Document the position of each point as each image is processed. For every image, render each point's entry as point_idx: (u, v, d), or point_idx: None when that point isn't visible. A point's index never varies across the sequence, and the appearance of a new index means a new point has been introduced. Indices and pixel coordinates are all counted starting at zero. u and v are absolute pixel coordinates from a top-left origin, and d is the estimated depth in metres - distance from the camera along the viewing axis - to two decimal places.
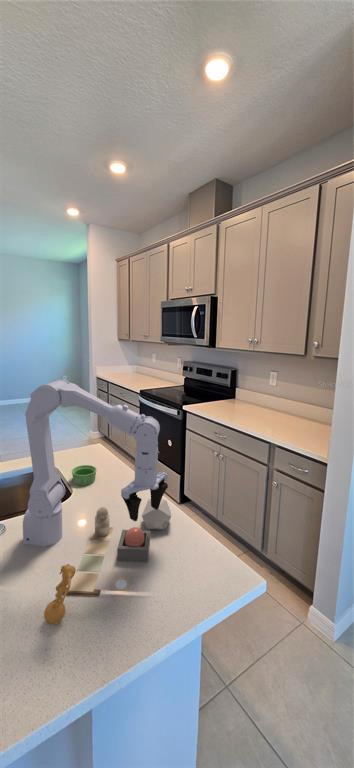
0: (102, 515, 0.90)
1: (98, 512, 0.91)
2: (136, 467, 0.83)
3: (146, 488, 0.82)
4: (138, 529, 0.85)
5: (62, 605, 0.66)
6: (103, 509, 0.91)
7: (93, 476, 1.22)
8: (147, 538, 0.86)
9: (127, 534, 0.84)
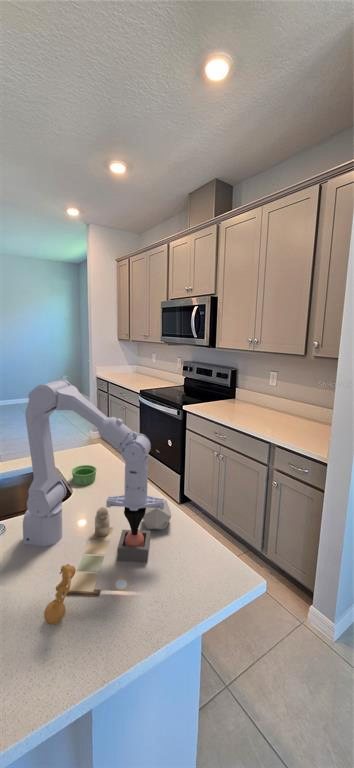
0: (102, 515, 0.90)
1: (98, 512, 0.91)
2: None
3: (126, 505, 0.81)
4: (138, 532, 0.85)
5: (62, 605, 0.66)
6: (103, 509, 0.91)
7: (93, 476, 1.22)
8: (147, 538, 0.86)
9: (127, 537, 0.84)
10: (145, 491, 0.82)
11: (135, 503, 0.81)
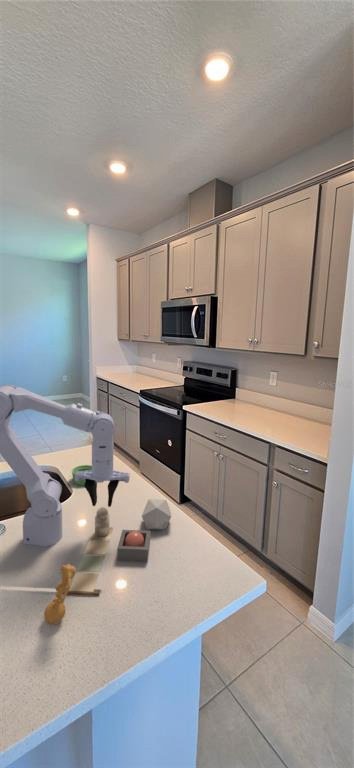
0: (102, 515, 0.90)
1: (98, 512, 0.91)
2: None
3: (92, 478, 0.87)
4: (138, 533, 0.85)
5: (62, 605, 0.66)
6: (103, 509, 0.91)
7: None
8: (147, 538, 0.86)
9: (127, 538, 0.84)
10: (110, 465, 0.88)
11: (101, 476, 0.87)
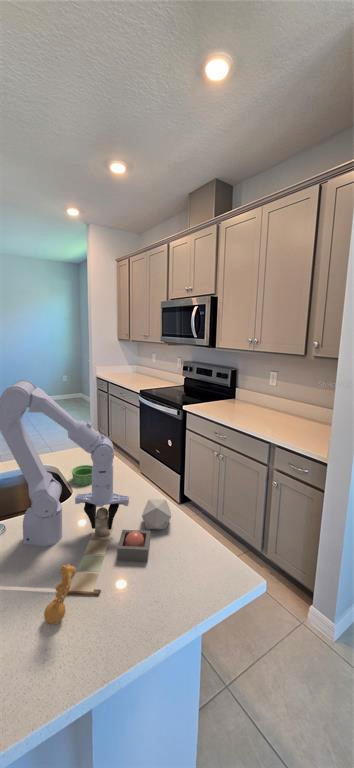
0: (102, 515, 0.90)
1: (98, 512, 0.91)
2: None
3: (92, 502, 0.88)
4: (138, 533, 0.85)
5: (62, 605, 0.66)
6: (103, 509, 0.91)
7: None
8: (147, 538, 0.86)
9: (127, 538, 0.84)
10: (110, 489, 0.89)
11: (101, 500, 0.88)
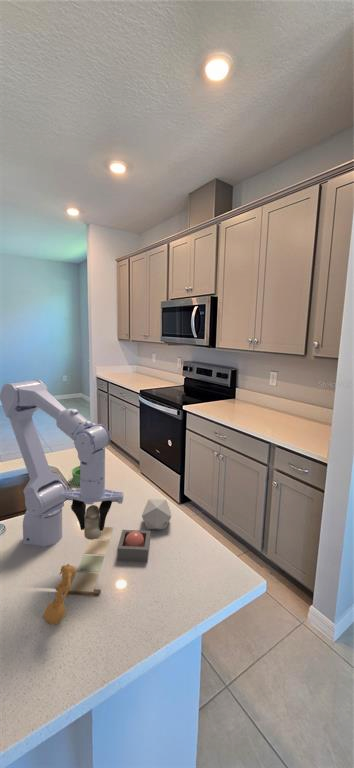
0: (92, 514, 0.79)
1: (88, 511, 0.79)
2: None
3: (81, 499, 0.77)
4: (138, 533, 0.85)
5: (62, 605, 0.66)
6: (94, 507, 0.79)
7: None
8: (147, 538, 0.86)
9: (127, 538, 0.84)
10: (102, 484, 0.77)
11: (90, 497, 0.76)
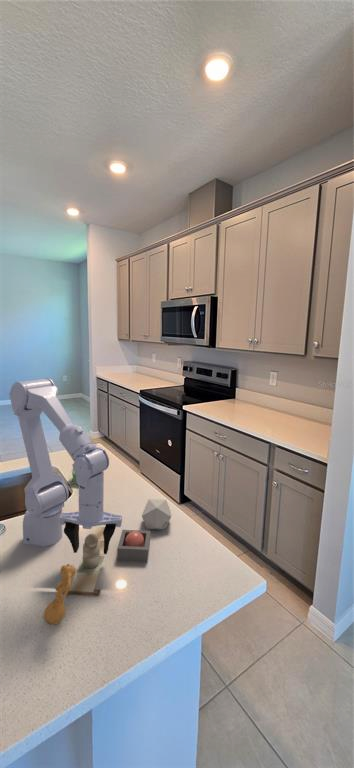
0: (91, 543, 0.79)
1: (86, 540, 0.79)
2: None
3: (79, 523, 0.76)
4: (138, 533, 0.85)
5: (62, 605, 0.66)
6: (92, 536, 0.79)
7: None
8: (147, 538, 0.86)
9: (127, 538, 0.84)
10: (100, 508, 0.77)
11: (89, 521, 0.76)
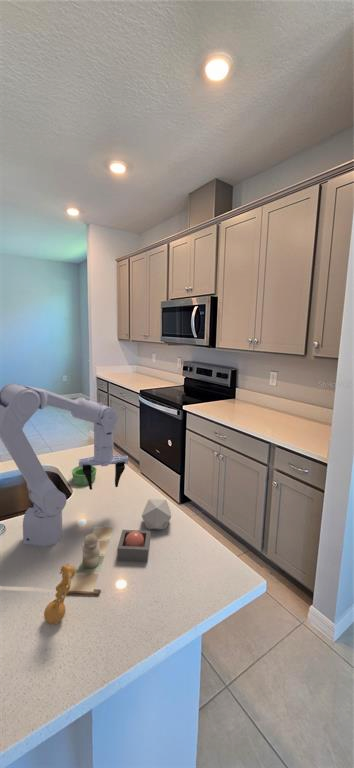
0: (90, 544, 0.78)
1: (86, 540, 0.79)
2: None
3: (97, 463, 0.96)
4: (138, 533, 0.85)
5: (62, 605, 0.66)
6: (92, 537, 0.79)
7: (93, 476, 1.22)
8: (147, 538, 0.86)
9: (127, 538, 0.84)
10: (112, 450, 0.98)
11: (105, 460, 0.97)
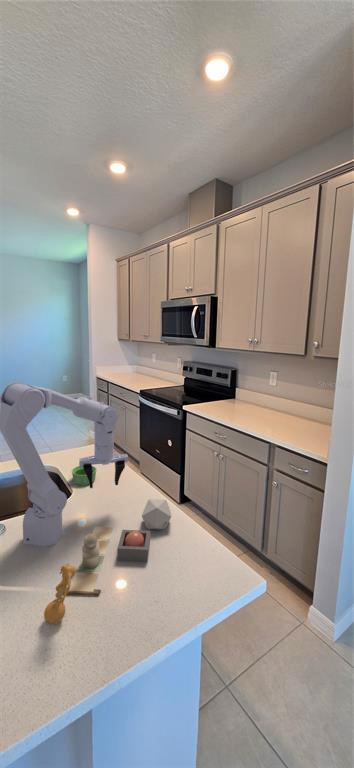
0: (89, 544, 0.78)
1: (85, 540, 0.79)
2: None
3: (98, 462, 0.98)
4: (138, 533, 0.85)
5: (62, 605, 0.66)
6: (91, 536, 0.79)
7: (93, 476, 1.22)
8: (147, 538, 0.86)
9: (127, 538, 0.84)
10: (113, 448, 1.00)
11: (106, 459, 0.98)
